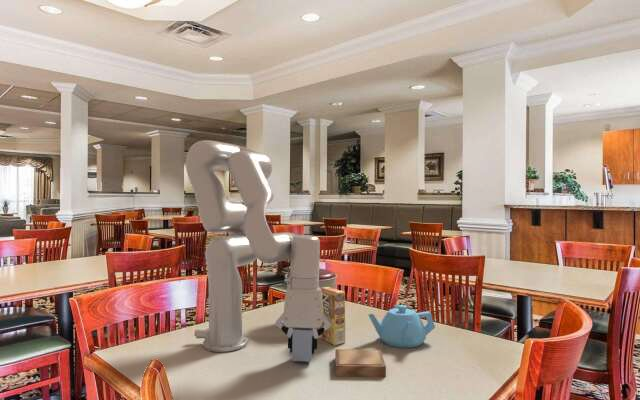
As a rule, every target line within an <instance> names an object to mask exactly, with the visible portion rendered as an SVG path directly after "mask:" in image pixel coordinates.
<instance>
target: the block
mask: <svg viewBox="0 0 640 400" xmlns="http://www.w3.org/2000/svg"><path fill="white" fill-rule="evenodd" d="M312 336H313V332H312V329H308V328H293V339H292V353H291V361H292V362H312V359H313V354H312Z"/></svg>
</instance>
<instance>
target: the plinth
mask: <svg viewBox="0 0 640 400" xmlns="http://www.w3.org/2000/svg"><path fill="white" fill-rule="evenodd" d="M334 355H335V376H336V377H361V378H362V377H369V378H371V377H372V378H373V377H375V378H381V377H382V378H386V377H387V365H386V363H385V360H384V356H383V354H382V350H381V349H342V348H340V349H339V348H338V349H335V354H334Z"/></svg>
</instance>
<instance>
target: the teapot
mask: <svg viewBox="0 0 640 400" xmlns="http://www.w3.org/2000/svg"><path fill="white" fill-rule="evenodd" d="M407 307H408V306H407V305H404V304H394V305H393V308H391V309H390V308H389V310H387V312H386V314H385V315H384V316H383V318H382V320H381V322H379V321H378V319H377V318H376V316H375V314H374V313H368V314H367V315H368V317H369V319H370V320H371V321H370V322H371V323H372V325H373V327H374V329H375V332H376V333H377V334H378V336H379V338H380V339H381V340H382V341H381V342H383V343H384V344H385V345H387V346H390V347H393V348H399V349H401V348H402V349H411V348H417V347H419V346H421V345H422V344H423V343H424V342H425V341H426V338H427V336H428V335H429V334H430V333H431V331H433V330H434V329H435V328H436V326H435V323H434V319H433V317H432V314H431V311H429V310H427V311H421V312H416V311H415V310H413V309H412V308H411V309H410V308H407ZM423 318H425V319H426V323H427V324H426V325H424V323H423V321H422V319H423Z"/></svg>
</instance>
